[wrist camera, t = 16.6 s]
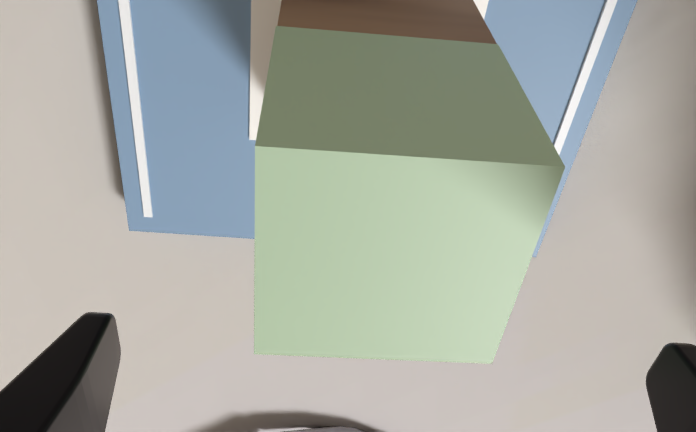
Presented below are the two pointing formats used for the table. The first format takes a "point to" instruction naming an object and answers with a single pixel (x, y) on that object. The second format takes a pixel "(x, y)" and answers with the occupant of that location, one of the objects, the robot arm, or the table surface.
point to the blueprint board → (249, 85)
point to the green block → (394, 197)
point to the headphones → (329, 429)
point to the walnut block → (390, 18)
